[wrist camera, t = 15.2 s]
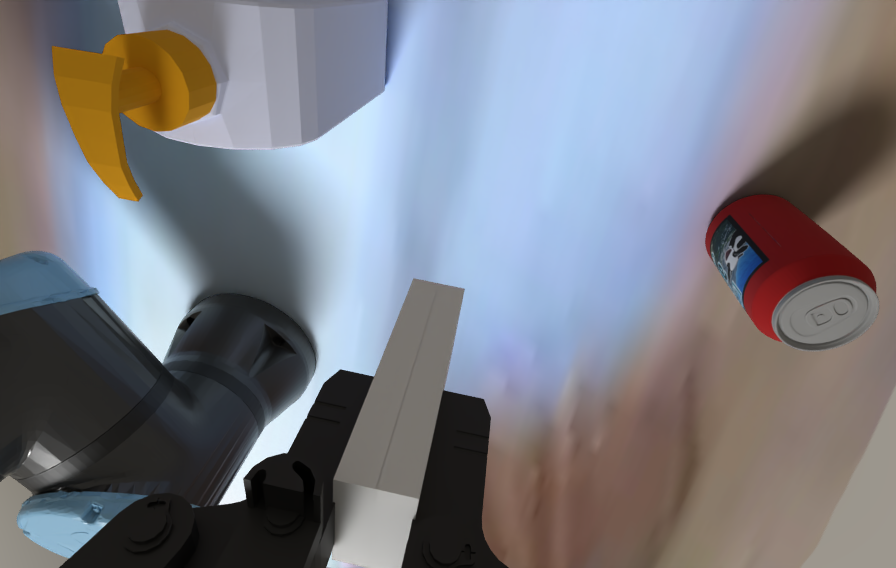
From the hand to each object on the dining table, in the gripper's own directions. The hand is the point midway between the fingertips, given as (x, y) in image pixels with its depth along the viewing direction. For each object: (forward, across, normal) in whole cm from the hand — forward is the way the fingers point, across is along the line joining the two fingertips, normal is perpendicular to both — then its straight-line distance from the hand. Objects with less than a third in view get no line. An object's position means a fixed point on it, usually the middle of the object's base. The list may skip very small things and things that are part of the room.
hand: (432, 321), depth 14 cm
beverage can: (+27, +22, -5) cm, 35 cm away
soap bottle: (+27, -13, +3) cm, 30 cm away
